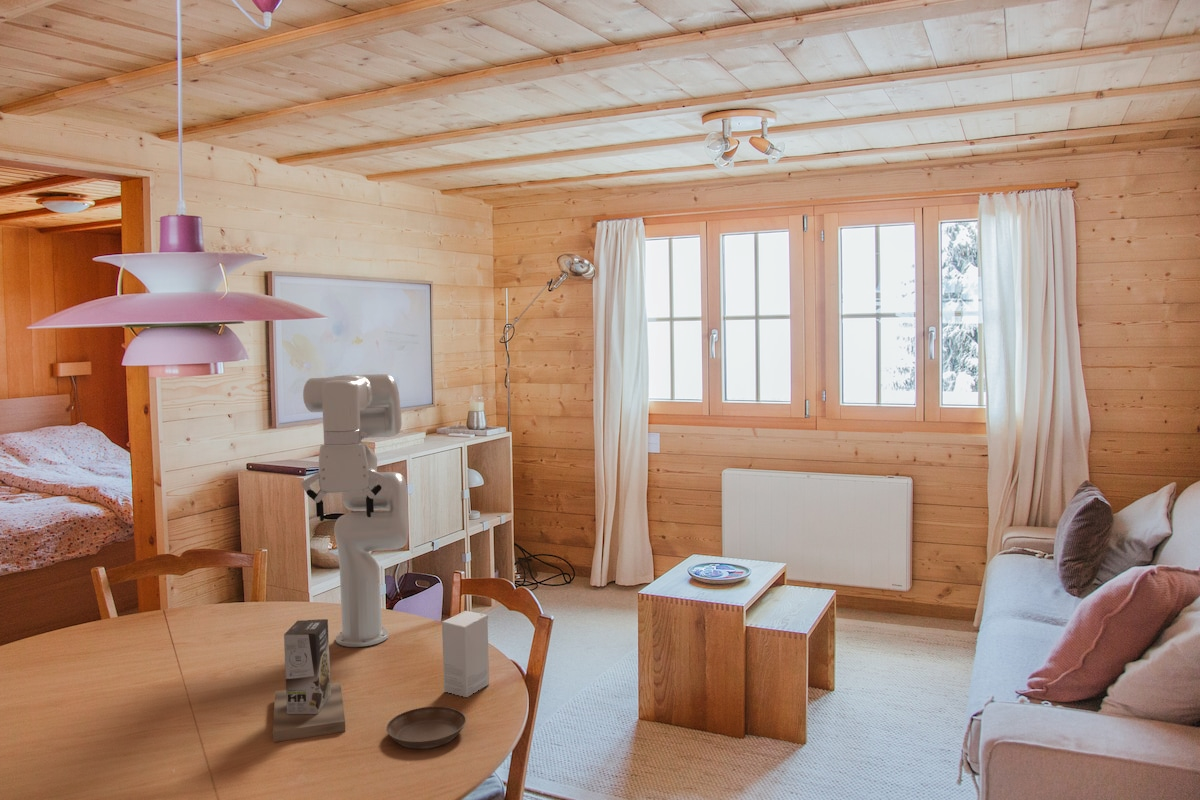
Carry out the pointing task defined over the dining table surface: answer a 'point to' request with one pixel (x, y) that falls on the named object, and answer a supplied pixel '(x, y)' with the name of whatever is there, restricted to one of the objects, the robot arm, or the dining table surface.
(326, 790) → the dining table surface
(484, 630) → the skincare box
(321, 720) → the grey-brown rectangular board
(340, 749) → the dining table surface
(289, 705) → the coffee box
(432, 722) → the saucer
